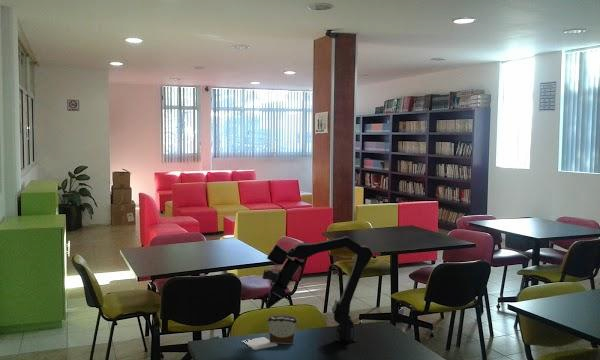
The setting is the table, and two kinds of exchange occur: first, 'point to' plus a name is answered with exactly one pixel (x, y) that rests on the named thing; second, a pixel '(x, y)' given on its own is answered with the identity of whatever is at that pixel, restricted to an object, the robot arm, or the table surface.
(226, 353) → the table surface
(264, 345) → the mat
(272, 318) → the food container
